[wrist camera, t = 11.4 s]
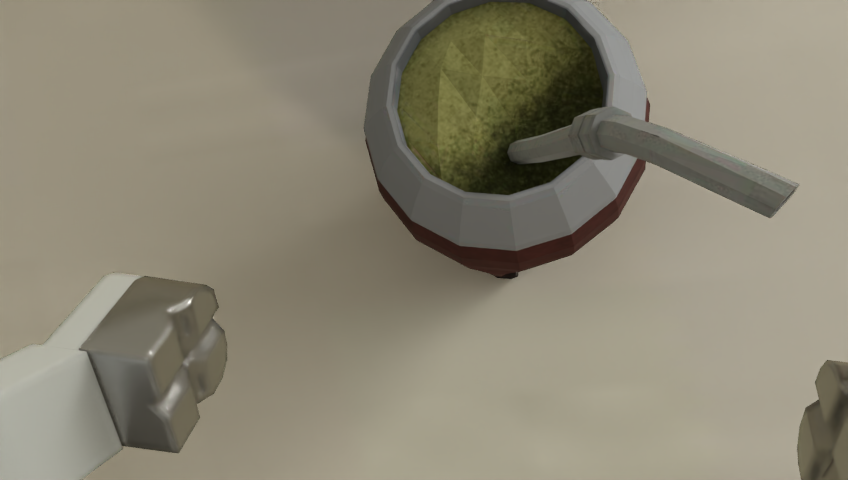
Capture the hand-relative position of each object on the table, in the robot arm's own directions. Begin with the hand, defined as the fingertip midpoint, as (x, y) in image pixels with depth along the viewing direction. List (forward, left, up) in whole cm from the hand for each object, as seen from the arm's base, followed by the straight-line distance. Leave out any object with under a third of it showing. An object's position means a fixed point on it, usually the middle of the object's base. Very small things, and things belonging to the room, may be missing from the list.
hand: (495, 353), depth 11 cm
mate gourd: (+5, +2, -14) cm, 15 cm away
